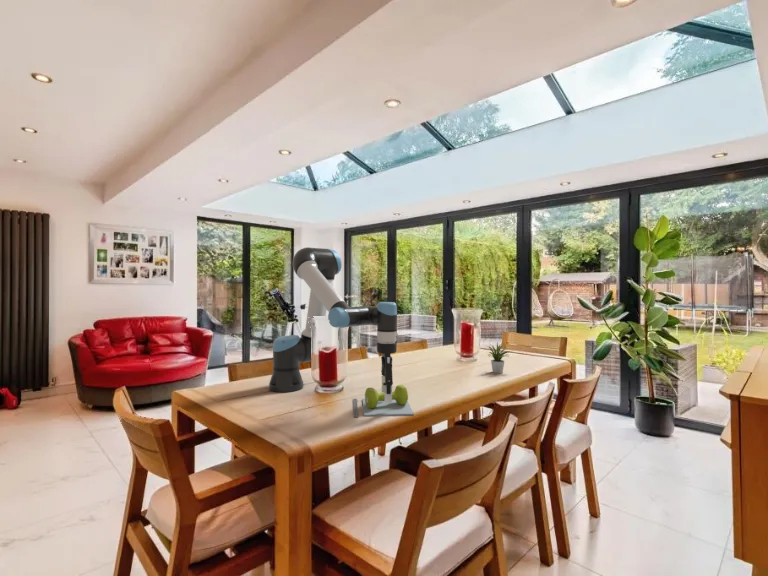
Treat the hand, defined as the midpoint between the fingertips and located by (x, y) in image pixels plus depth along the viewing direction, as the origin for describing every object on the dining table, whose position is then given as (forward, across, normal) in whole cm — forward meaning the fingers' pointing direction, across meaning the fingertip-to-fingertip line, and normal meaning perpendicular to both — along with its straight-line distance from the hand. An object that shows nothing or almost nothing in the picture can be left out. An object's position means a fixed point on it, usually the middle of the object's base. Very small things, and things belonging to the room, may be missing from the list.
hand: (386, 397), depth 153 cm
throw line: (+4, 0, +12) cm, 13 cm away
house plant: (+4, +56, -65) cm, 86 cm away
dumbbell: (+4, 0, 0) cm, 4 cm away
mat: (+4, 0, 0) cm, 4 cm away
